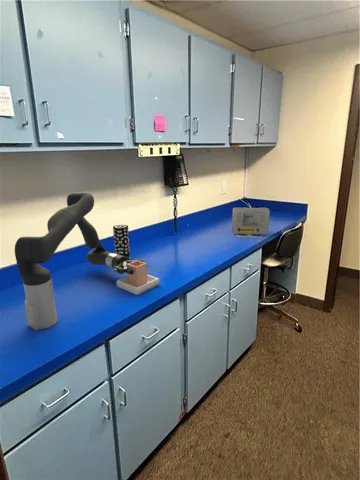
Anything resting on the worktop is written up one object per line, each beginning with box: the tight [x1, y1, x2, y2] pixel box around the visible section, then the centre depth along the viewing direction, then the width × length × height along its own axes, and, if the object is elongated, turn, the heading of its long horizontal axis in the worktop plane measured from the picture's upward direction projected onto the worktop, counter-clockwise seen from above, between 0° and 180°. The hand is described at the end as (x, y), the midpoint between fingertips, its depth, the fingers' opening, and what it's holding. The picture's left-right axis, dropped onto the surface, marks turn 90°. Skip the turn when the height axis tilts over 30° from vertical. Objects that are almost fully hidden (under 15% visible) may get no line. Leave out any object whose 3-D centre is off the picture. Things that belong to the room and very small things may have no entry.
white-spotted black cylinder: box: [112, 224, 131, 260], centre depth 174 cm, size 8×8×20 cm
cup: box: [126, 260, 148, 287], centre depth 142 cm, size 6×6×10 cm
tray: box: [116, 274, 160, 296], centre depth 144 cm, size 14×14×3 cm
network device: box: [231, 207, 271, 238], centre depth 220 cm, size 26×9×20 cm, turn 82°
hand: (139, 269), depth 141 cm, fingers open, 8 cm apart
